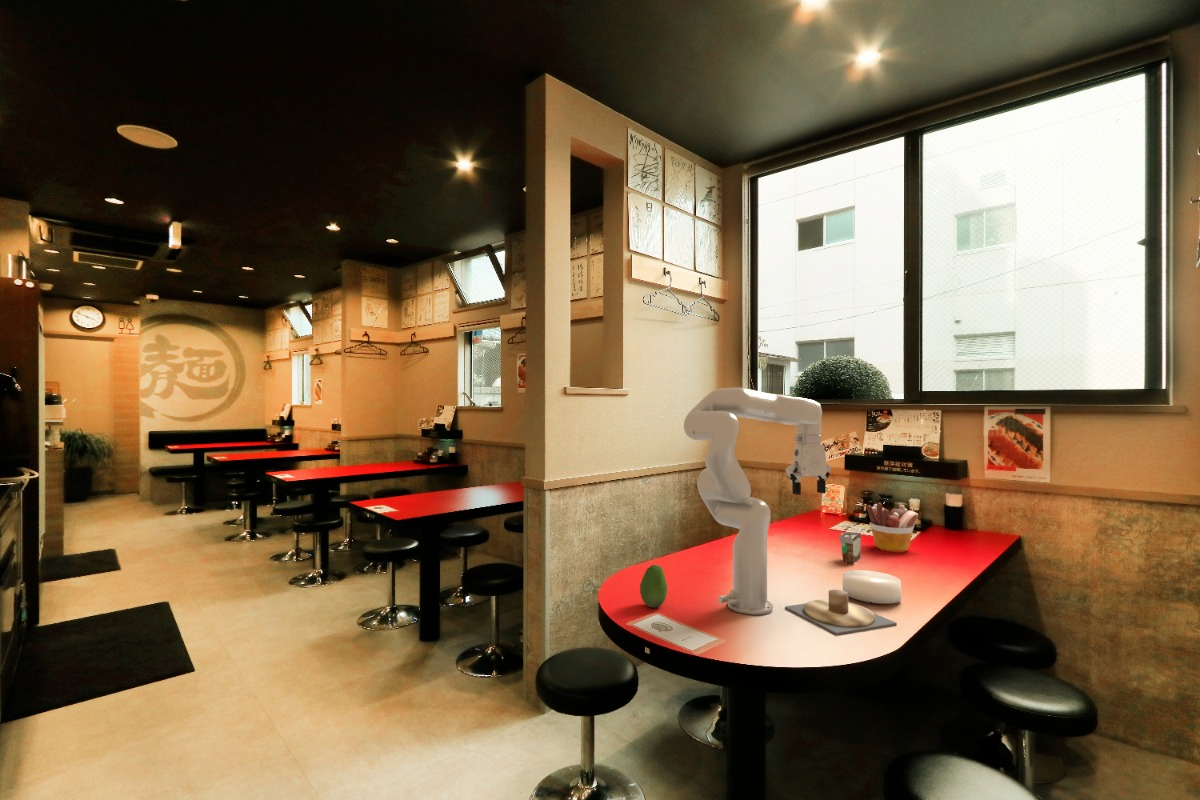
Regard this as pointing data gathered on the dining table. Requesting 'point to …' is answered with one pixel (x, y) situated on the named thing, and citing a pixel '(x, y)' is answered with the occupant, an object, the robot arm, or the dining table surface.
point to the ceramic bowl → (872, 586)
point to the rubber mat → (841, 630)
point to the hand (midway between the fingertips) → (809, 493)
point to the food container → (851, 546)
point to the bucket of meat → (891, 527)
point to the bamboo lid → (839, 611)
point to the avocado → (653, 586)
